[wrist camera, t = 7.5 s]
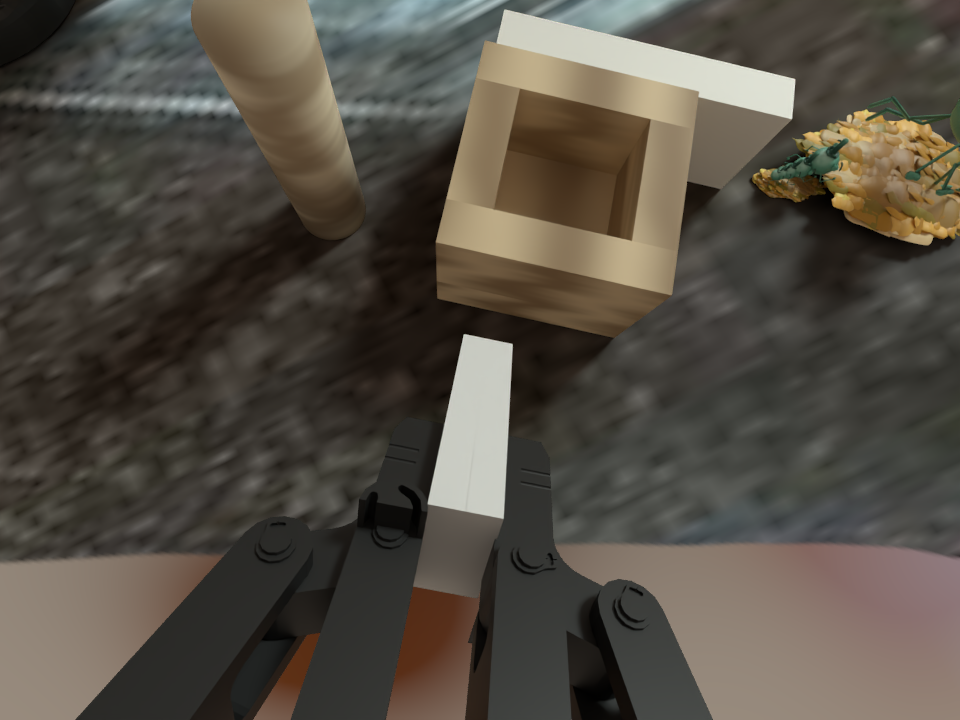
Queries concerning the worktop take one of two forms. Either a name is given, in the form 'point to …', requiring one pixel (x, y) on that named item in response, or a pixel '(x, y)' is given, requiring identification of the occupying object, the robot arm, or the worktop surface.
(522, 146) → the block
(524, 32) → the backstop
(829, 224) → the worktop surface
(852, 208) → the green yellow irregular piece
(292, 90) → the dowel
